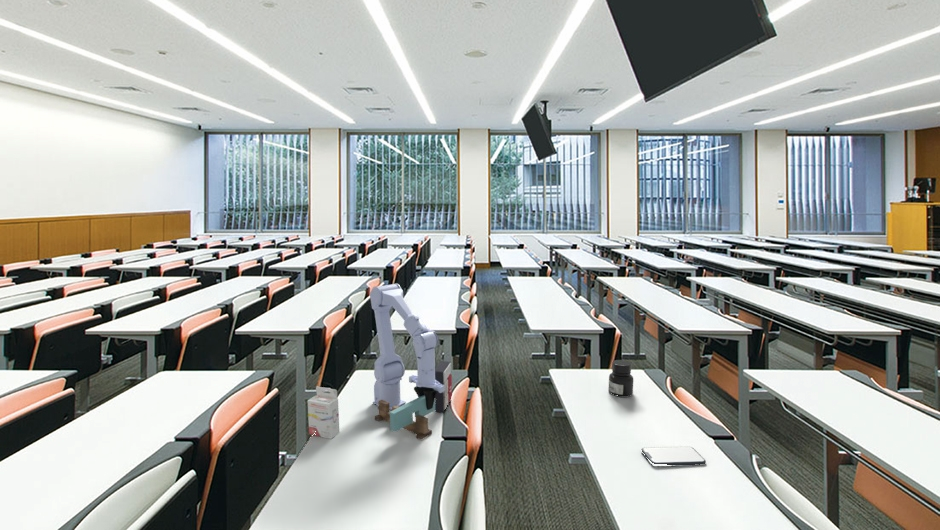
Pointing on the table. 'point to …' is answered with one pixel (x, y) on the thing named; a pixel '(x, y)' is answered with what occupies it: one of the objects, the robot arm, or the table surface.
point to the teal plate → (408, 413)
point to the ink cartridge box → (323, 413)
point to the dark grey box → (445, 379)
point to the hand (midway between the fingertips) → (426, 407)
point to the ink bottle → (621, 378)
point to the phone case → (673, 455)
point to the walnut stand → (416, 427)
